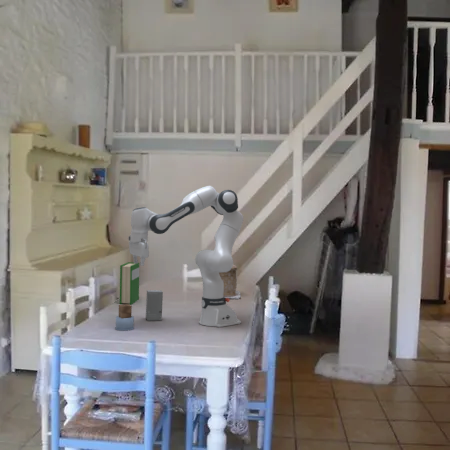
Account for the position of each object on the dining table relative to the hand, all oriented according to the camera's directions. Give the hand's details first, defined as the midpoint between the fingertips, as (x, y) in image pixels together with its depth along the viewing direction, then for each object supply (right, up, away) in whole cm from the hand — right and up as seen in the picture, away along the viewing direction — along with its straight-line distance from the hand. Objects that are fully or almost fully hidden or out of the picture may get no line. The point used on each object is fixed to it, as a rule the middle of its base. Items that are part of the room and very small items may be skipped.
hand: (138, 264), depth 285 cm
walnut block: (-5, -26, -11) cm, 28 cm away
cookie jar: (+44, -28, +87) cm, 101 cm away
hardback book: (-15, -28, +59) cm, 67 cm away
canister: (-6, -32, -10) cm, 34 cm away
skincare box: (+6, -31, +11) cm, 34 cm away
